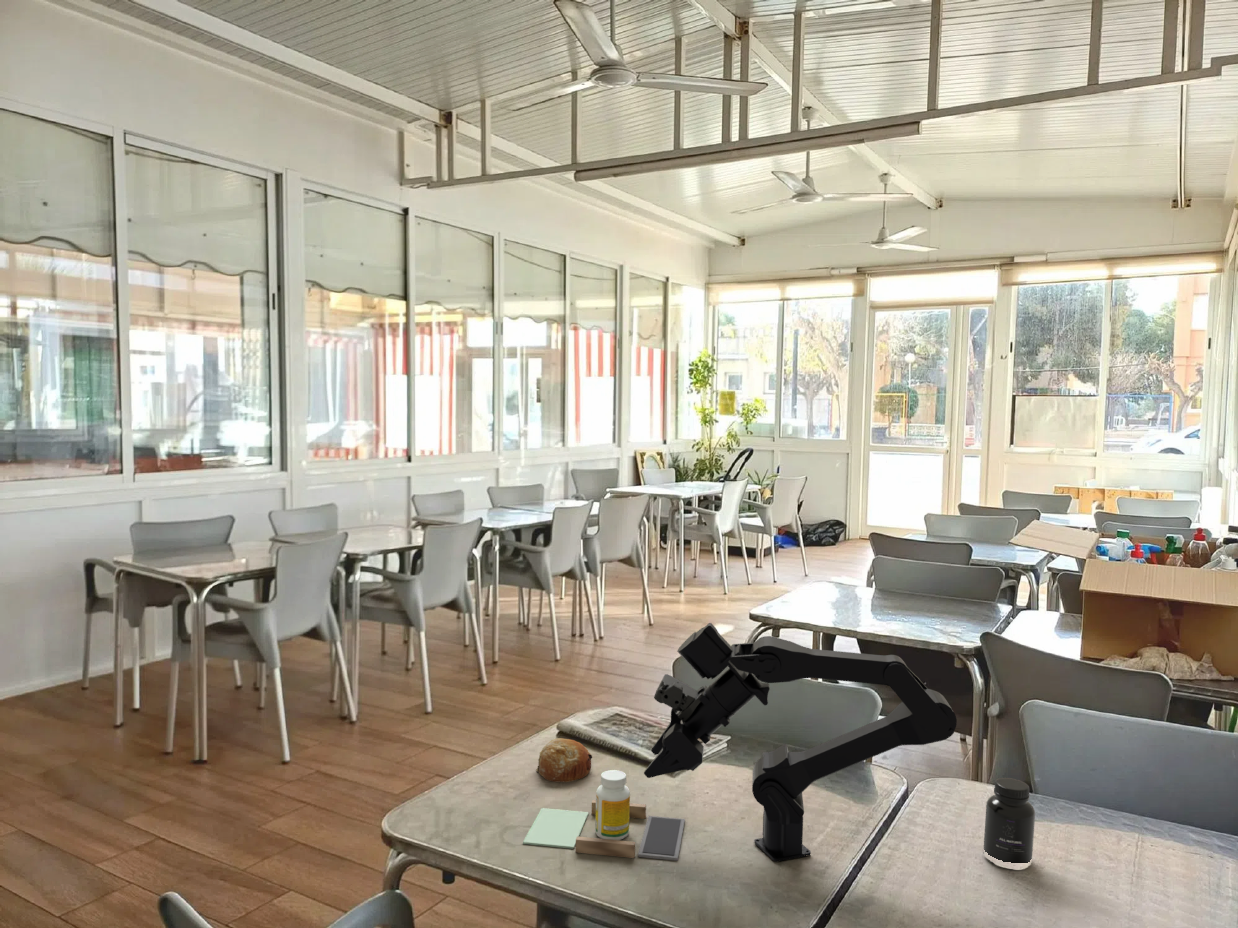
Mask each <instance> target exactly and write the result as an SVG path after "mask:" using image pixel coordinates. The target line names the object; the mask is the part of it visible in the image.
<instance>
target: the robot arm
mask: <svg viewBox="0 0 1238 928" xmlns="http://www.w3.org/2000/svg"><path fill="white" fill-rule="evenodd" d="M676 652H677V653H678V654H679V655H680V656H681V657H682V658H683V659H684V660H685V662H686V663H687V664H689V666H690V667H691V668H692V669H693V671H695V673H696V674H698V675H699V677H701V679H705V678H706V679H707V680H709V679H711V680H713V679H715V678H717V679H715V680H714V681H713V682H712V683H711V684H710V685H708V686H707V685H705V686H704V685H701V687H699V688H698V689H697V690H696V689H695V688H693V687H691V686H690V685H688V684H687V683H685V682H683V681H682V680H679V679H678V678H676V677H674V676H672V675H669V674H668V673H667V674H664V675H663V677H662V679H661V681H660V682H659V685H658V686H657V688H656V691H655V693H654V696H653V699H654V700H655V701H656V702H658V703H659V704H664V705H665V706H668V707H670V708H671V711H670V722H669V723H668V725H667V726H666V727H665V730H664V731H663V732H662V734H661V735H660V736H659V737H658V739H657V740H656V742H655V744H654V745H653V746H652V747H651V749H650V750H651V753H652V754H653V755H655V757H654V759H653V760H652V761H651V763H649V764H648V766H647V768H646V769H645V770H644V772H643V775H645V777H646V778H648V779H651V778H655V777H659V776H663V775H667V774H670V773H675V772H680V771H685V770H686V771H692V772H693V771H695V770H696V769H697V768H699V766H701V765H702V763H703V761H704V760H703V759H704V748H705V747H704V746H705V745H707V744H708V743H709V742H710V741H711V736H712V735H713V734H714V733H715V732H716V731H717V730H718V729H720V728H721V727H722V726H723V727H724V728H726V727H727V726H728V725H729V724H730V723H731V718H732V717H734V716H735V715H736V714H737V713H738V712H740V710H741V709H743V708H744V707H745V706H746V705H747V704H749V702H751V701H752V700H753V699H754V698H755V697H756V698H757V700H758V701H759V702H760V703H761V704H762V705H763V706H768V705H769V699H768V698H769V693H770V690H771V689H770V688H771V687H770V684H778V683H790V682H794V681H795V682H796V681H799V680H802V679H803V680H804V679H819V680H820V679H821V680H829V681H841V682H848V683H859V684H871V685H880V686H887V687H889V688H890V689H891V690H892V691H893V692H894V693H895V694H896V695H897V697H898V698H899V699H900V701H901V702H900V703H899V704H898V705H896V707H895V708H894V709H893V710H892V711H891V712H890V713H889V714H888V715H886V716H884V717H882V718H879V719H877V720H875V721H872V722H870V723H867V724H864V725H862V726H861V727H858V728H855V729H853V730H851V731H849V732H846V733H844V734H841V735H839V736H837V737H835V738H832V739H830V740H827V741H825V742H822V743H820V744H818V745H814V746H813V747H810V748H808V749H806V750H803V751H789V749H788V745H787V744H786V743H785V744H781V745H780V746H779V747H777V748H775V749H774V750H770V751H763V752H762V757H760V758H759V759H758V760H757V761H756V762H755V763H754V766H753V768H752V781H751V782H752V783H751V785H752V788H751V790H752V791H751V792H752V796H753V798H754V799H755V800H756V802H757V803H758V804H760V805H761V806H762V807H763V814H762V816H763V817H762V818H763V819H762V837H760V838H755V839H754V840H753V841H754V843H753V844H755V845H756V846H757V847H758V848H759V849H760V850H761V851H762V852H763V853H764V854H766V856H767V857H769V858H770V859H771V861H773V862H782V861H783V862H784V861H787V860H792V859H799V858H803V857H807V856H806V855H809V856H811V855H810V854H812V852H811V850H810V849H809V848H807V846H805V845H804V844H803V838H804V837H803V835H804V834H803V832H804V814H805V806H804V799H803V798H804V797H803V792H804V791H805V790H806V789H807V788H808V787H810V785H812V784H813V783H814V782H816V781H818V780H820V779H822V778H825V777H828V776H830V775H833V774H834V773H837V772H839V771H842V770H845V769H847V768H850V767H852V766H854V765H857V764H859V763H862V762H864V761H867V760H869V759H871V758H873V757H876V756H879V755H881V754H884V753H885V752H889V751H890V750H892V749H895V748H898V747H901V746H924V745H928V744H929V745H930V744H934V743H937V742H942V741H945V740H947V739H949V738H951V737H952V736H953V734H955V730H956V727H957V723H958V722H957V720H958V719H957V717H956V713H955V712H954V710H953V709H952V707H951V705H950V704H949V702H948V700H947V699H946V698H945V696H944V695H943V694H941V693H940V692H939V691H936V690H934V689H931V688H928V687H927V686H926V685H925V684H924V683H923V682H922V681H921V679H920V678H919V677H918V676H917V675H916V674H915V673H914V672H913V671H912V670H911V669H910V667H908V666H907V664H906V662H905V661H904V660H903V659H902V658H901V657H900V656H899V655H896V654H888V655H882V654H881V655H880V654H870V653H860V652H859V653H858V652H851V651H850V652H849V651H841V650H840V651H838V650H830V649H829V650H826V649H816V648H810V647H806V646H803V645H801V644H798V643H796V642H793V641H790V640H787V639H783V638H779V637H775V636H771V635H768V636H767V635H766V636H765V635H764V636H761V637H759V638H758V639H757V640H755V641H754V642H744V643H743V642H741V643H733V644H730V643H729V642H728V641H727V640H726V639H725V638H724V637H723V636H722V634H720V633H719V631H718V629H717V628H716V627H715V625H714V624H713V623H712V622H709V623H707V624H706V625H705V626H702V627H701V628H700V629H699V630H697V631H694V632H693V633H692V634H690V636H689V637H688V638H686V640H684V641H683V643H682V644H681V645H680V646H679V648H678V649H677V650H676ZM727 667H728V668H727ZM726 668H727V670H725V669H726ZM724 670H725V671H724ZM723 671H724V672H723ZM722 672H723V673H722ZM721 673H722V674H721ZM720 674H721V675H720ZM719 675H720V676H719ZM718 676H719V677H718ZM700 740H701V742H702V743H701V742H700ZM703 744H704V745H703Z"/></svg>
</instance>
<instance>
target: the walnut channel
mask: <svg viewBox="0 0 1238 928" xmlns="http://www.w3.org/2000/svg"><path fill="white" fill-rule="evenodd" d="M629 811H630V812H629V819H630V818H631V819H640V820H641V819H642V820H645V819H646V818H647V817H646V816H647V804H643V803H634V802H633V803H631V802H630V809H629ZM591 815H595V816H596V799H592V801H591ZM575 853H579V854H581V853H582V854H587V855H588V854H590V855H598V856H610V857H620V858H621V857H622V858H631V859H635V857H636V842H635V841H631V840H630V841H628V840H609V839H601V838H600V837H597V838H596V837H587V836H579V837H578V836H577V838H576V845H575Z"/></svg>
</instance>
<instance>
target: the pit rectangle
mask: <svg viewBox="0 0 1238 928" xmlns="http://www.w3.org/2000/svg"><path fill="white" fill-rule="evenodd" d="M647 817H648V818H647V821H646V823H645V828H644V831H643V835H642V839H641V841H640V844H639V845H640V846H639V849H638V853H637V857H638V858H647V859H658V860H667V861H677V862H678V860H679V857H680V856H679V854H680V849H681V844H682V839H683V834H684V828H685V822H686V818H679V817H678V818H676V817H668V816H666V817H665V816H656V815H648V816H647Z"/></svg>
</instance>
